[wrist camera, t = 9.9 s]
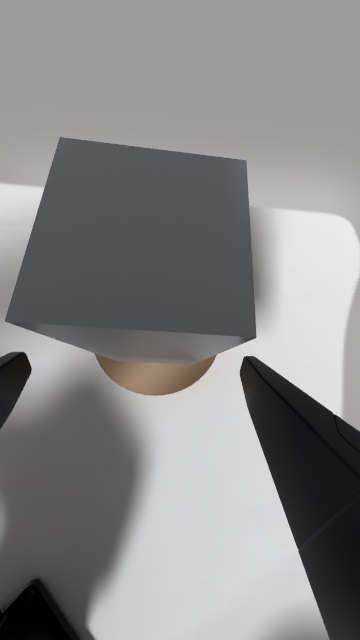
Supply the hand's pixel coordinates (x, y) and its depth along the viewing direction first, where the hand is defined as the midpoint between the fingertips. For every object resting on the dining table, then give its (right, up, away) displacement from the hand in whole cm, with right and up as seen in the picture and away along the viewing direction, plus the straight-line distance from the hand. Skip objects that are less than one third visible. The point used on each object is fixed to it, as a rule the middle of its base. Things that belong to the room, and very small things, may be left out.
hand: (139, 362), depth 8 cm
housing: (0, +1, +9) cm, 9 cm away
